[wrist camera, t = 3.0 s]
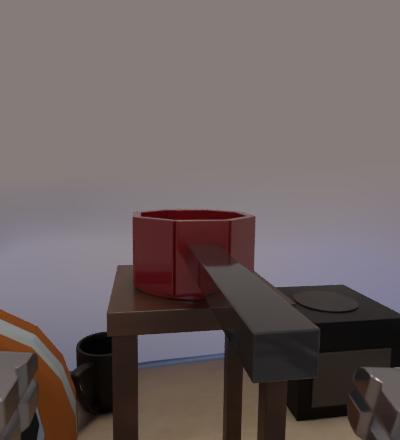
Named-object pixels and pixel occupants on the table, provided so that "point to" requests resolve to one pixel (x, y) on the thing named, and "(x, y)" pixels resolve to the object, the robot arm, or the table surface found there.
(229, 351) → the plant stand
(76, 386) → the mug
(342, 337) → the stove
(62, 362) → the alarm clock
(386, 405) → the robot arm
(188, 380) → the table surface
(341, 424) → the table surface
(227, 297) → the saucepan
